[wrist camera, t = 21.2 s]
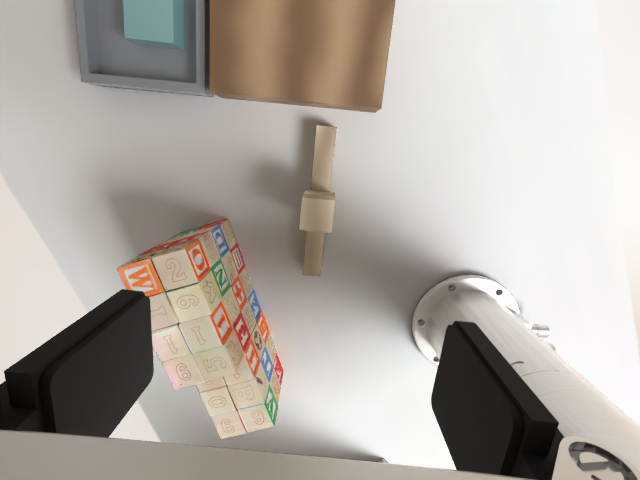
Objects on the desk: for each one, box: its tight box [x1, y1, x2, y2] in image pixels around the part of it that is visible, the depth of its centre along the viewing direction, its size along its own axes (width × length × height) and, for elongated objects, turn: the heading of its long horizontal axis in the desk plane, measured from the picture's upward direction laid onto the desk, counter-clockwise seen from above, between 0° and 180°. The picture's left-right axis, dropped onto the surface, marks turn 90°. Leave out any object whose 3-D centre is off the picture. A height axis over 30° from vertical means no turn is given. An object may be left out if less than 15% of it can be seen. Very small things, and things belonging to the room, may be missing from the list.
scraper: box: [299, 125, 337, 276], centre depth 34 cm, size 3×16×8 cm, turn 174°
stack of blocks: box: [117, 219, 283, 439], centre depth 36 cm, size 21×6×12 cm, turn 16°
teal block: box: [123, 0, 185, 51], centre depth 32 cm, size 4×4×2 cm
